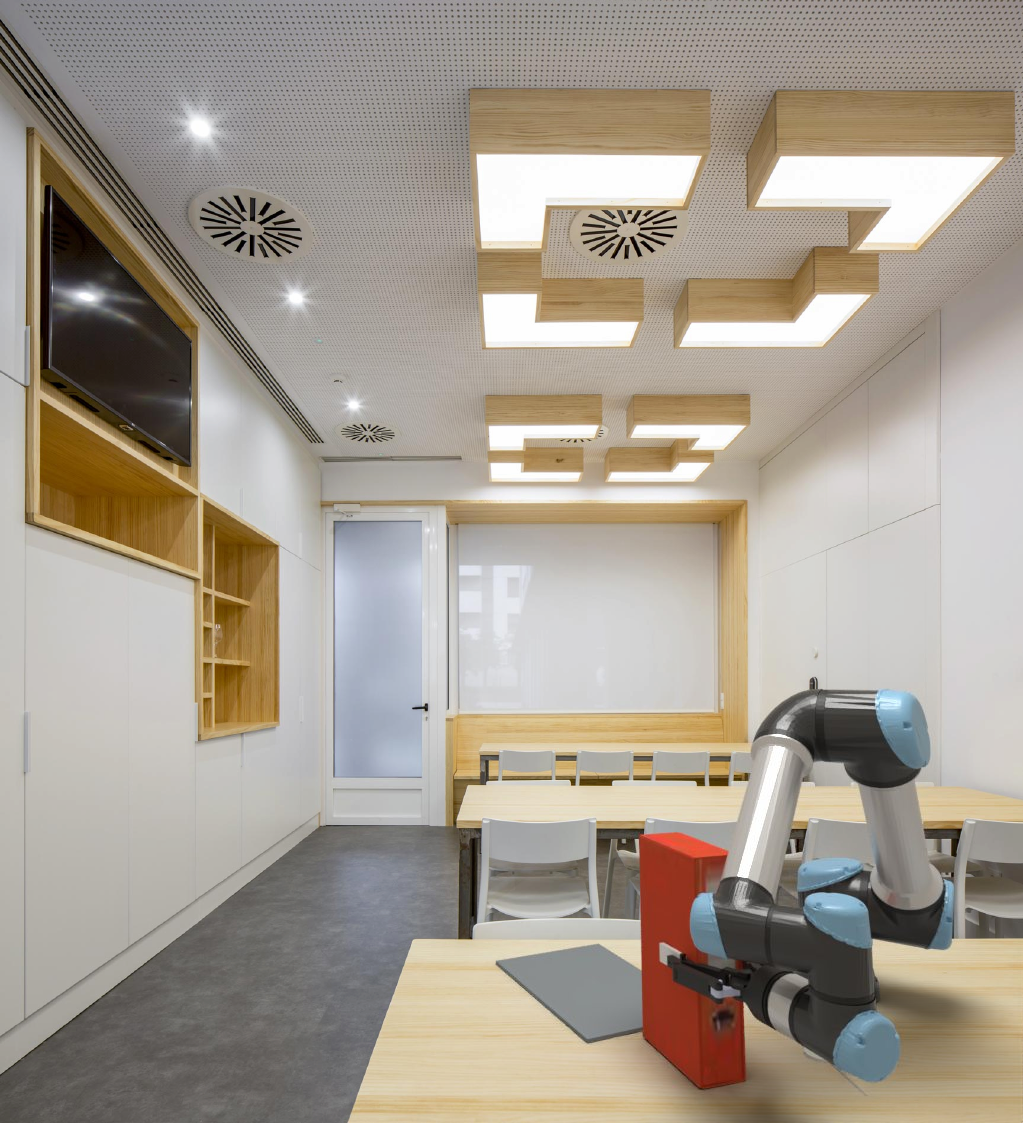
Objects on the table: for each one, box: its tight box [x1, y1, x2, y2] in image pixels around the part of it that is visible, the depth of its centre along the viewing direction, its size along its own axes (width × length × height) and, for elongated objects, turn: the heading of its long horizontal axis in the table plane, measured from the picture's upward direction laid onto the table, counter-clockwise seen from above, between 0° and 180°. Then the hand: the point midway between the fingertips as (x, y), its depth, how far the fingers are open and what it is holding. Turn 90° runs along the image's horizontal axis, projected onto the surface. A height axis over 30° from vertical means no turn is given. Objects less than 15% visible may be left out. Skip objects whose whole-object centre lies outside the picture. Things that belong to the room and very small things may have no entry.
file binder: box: [638, 831, 747, 1090], centre depth 127 cm, size 8×17×32 cm, turn 19°
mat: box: [495, 943, 643, 1044], centre depth 153 cm, size 24×38×1 cm, turn 24°
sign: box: [802, 1047, 868, 1097], centre depth 122 cm, size 5×1×15 cm
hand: (684, 947), depth 128 cm, fingers closed on file binder, 8 cm apart
